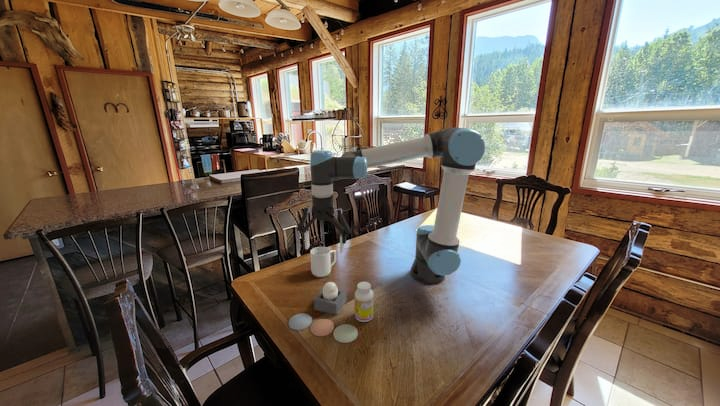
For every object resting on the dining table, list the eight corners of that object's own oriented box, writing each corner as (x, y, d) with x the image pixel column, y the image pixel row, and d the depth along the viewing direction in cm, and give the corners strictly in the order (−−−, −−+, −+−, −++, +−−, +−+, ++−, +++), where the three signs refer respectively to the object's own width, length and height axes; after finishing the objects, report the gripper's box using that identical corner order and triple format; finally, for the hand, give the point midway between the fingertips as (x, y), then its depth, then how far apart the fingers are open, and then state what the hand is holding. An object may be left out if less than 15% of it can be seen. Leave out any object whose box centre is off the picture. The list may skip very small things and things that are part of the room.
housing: (346, 300, 111) (346, 290, 109) (336, 315, 102) (336, 304, 101) (325, 295, 114) (324, 286, 112) (314, 309, 105) (313, 299, 104)
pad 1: (316, 317, 101) (316, 316, 101) (304, 332, 94) (304, 331, 94) (296, 312, 104) (296, 311, 104) (283, 326, 97) (283, 325, 97)
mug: (315, 280, 125) (314, 257, 121) (308, 271, 132) (307, 249, 129) (340, 273, 130) (339, 251, 127) (332, 264, 138) (331, 243, 134)
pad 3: (361, 328, 96) (361, 327, 96) (352, 345, 89) (352, 344, 89) (339, 323, 99) (339, 322, 98) (329, 339, 91) (329, 338, 91)
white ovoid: (340, 295, 109) (339, 280, 107) (334, 304, 104) (333, 288, 102) (327, 292, 111) (326, 277, 109) (320, 301, 106) (319, 285, 104)
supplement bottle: (354, 311, 105) (353, 280, 101) (372, 310, 105) (372, 279, 101) (355, 323, 98) (355, 291, 95) (374, 322, 99) (374, 290, 95)
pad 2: (338, 322, 99) (337, 321, 99) (327, 338, 91) (327, 337, 91) (317, 317, 101) (317, 316, 101) (305, 332, 94) (305, 331, 94)
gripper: (359, 194, 103) (358, 247, 109) (293, 190, 107) (297, 242, 113) (354, 199, 96) (354, 256, 102) (285, 195, 100) (289, 250, 106)
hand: (324, 249), depth 107 cm, fingers open, 13 cm apart
